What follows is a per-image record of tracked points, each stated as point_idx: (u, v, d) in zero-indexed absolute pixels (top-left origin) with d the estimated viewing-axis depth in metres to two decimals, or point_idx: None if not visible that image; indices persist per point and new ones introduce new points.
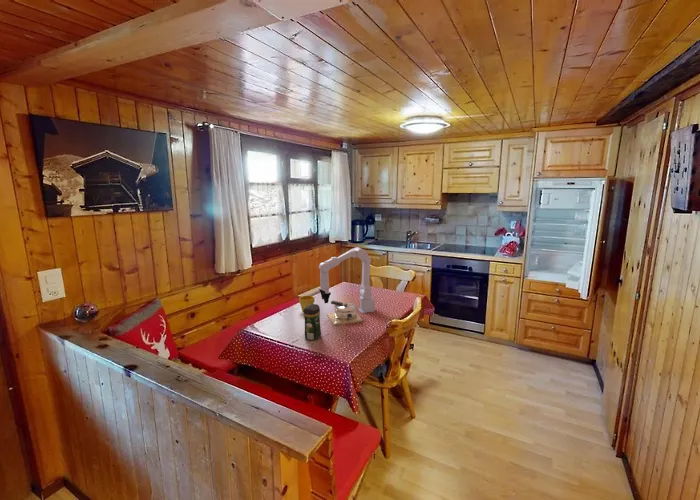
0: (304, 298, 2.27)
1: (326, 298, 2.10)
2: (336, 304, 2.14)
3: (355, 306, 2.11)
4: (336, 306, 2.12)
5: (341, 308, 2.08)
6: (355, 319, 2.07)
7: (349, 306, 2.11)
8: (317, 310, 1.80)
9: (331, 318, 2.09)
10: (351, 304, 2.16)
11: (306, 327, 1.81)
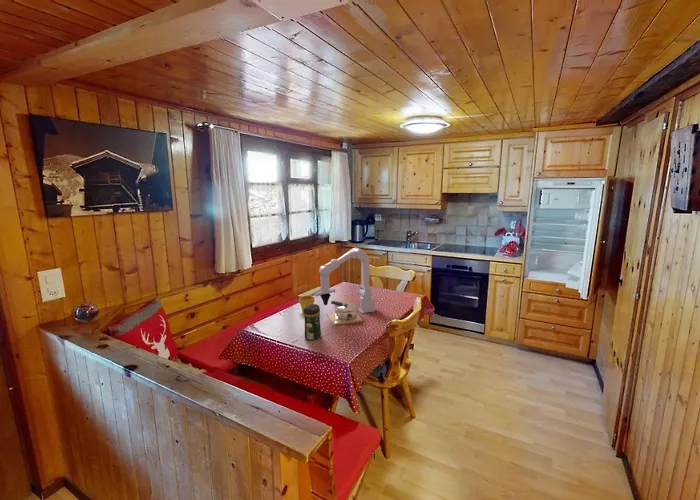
0: (304, 298, 2.27)
1: (324, 300, 2.11)
2: (336, 304, 2.14)
3: (355, 306, 2.11)
4: (336, 306, 2.12)
5: (341, 308, 2.08)
6: (355, 319, 2.07)
7: (349, 306, 2.11)
8: (317, 310, 1.80)
9: (331, 318, 2.09)
10: (351, 304, 2.16)
11: (306, 327, 1.81)
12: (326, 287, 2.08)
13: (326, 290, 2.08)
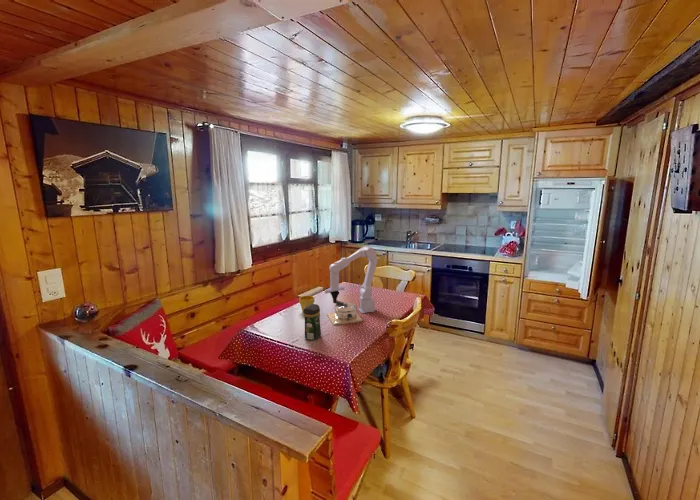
0: (304, 298, 2.27)
1: (334, 297, 2.16)
2: (337, 303, 2.16)
3: (355, 307, 2.10)
4: (336, 305, 2.13)
5: (340, 308, 2.09)
6: (355, 319, 2.07)
7: (349, 306, 2.11)
8: (317, 310, 1.80)
9: (331, 318, 2.09)
10: (352, 304, 2.15)
11: (306, 327, 1.81)
12: (336, 284, 2.12)
13: (336, 287, 2.12)
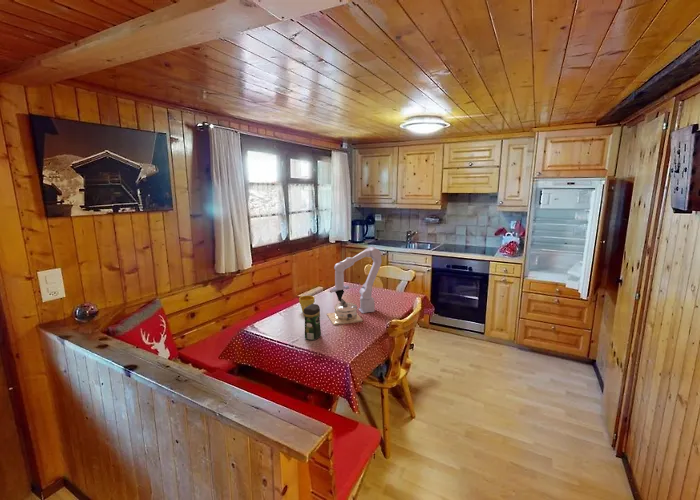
0: (304, 298, 2.27)
1: (339, 296, 2.18)
2: (341, 302, 2.18)
3: (352, 308, 2.07)
4: (338, 304, 2.15)
5: (338, 307, 2.10)
6: (355, 319, 2.07)
7: (348, 307, 2.10)
8: (317, 310, 1.80)
9: (331, 318, 2.09)
10: (353, 305, 2.13)
11: (306, 327, 1.81)
12: (341, 283, 2.14)
13: (341, 286, 2.15)
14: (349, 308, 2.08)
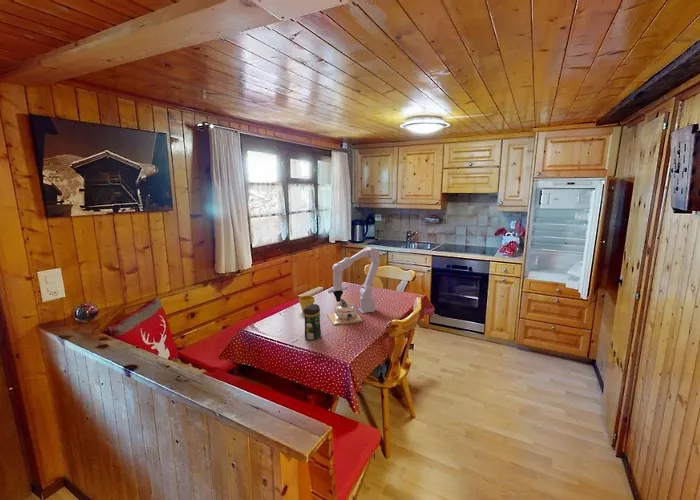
0: (304, 298, 2.27)
1: (337, 297, 2.17)
2: (341, 302, 2.18)
3: (352, 308, 2.07)
4: (338, 304, 2.15)
5: (338, 307, 2.10)
6: (355, 319, 2.07)
7: (348, 307, 2.10)
8: (317, 310, 1.80)
9: (331, 318, 2.09)
10: (353, 305, 2.13)
11: (306, 327, 1.81)
12: (339, 284, 2.14)
13: (339, 287, 2.14)
14: (349, 308, 2.08)
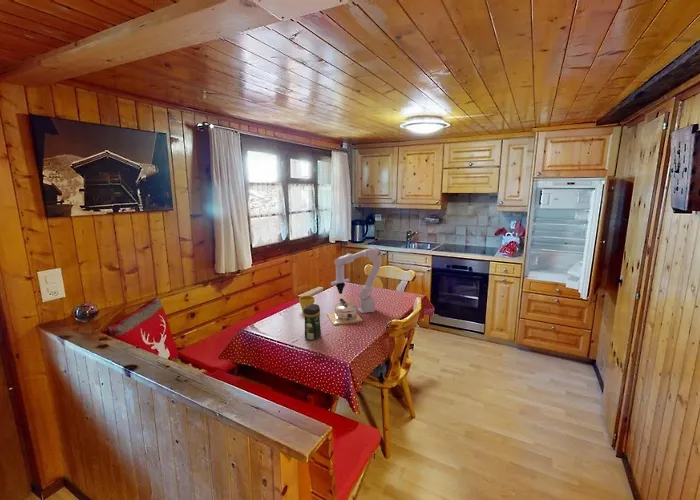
0: (304, 298, 2.27)
1: (339, 289, 2.28)
2: (341, 302, 2.18)
3: (352, 308, 2.07)
4: (338, 304, 2.15)
5: (338, 307, 2.10)
6: (355, 319, 2.07)
7: (348, 307, 2.10)
8: (317, 310, 1.80)
9: (331, 318, 2.09)
10: (353, 305, 2.13)
11: (306, 327, 1.81)
12: (341, 277, 2.24)
13: (341, 280, 2.24)
14: (349, 308, 2.08)
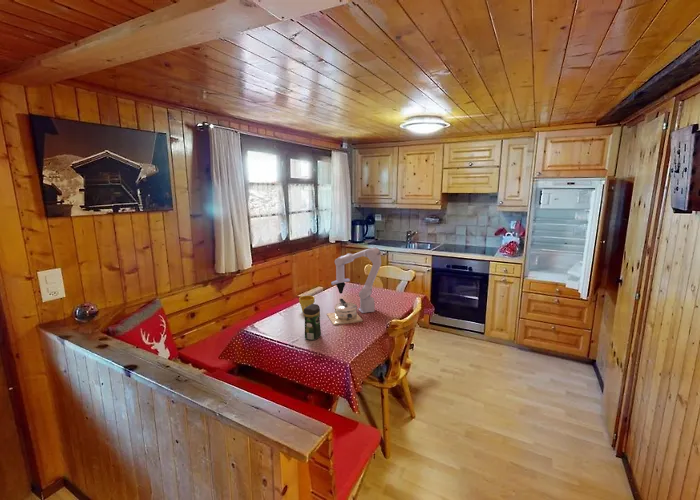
0: (304, 298, 2.27)
1: (339, 289, 2.29)
2: (341, 302, 2.18)
3: (352, 308, 2.07)
4: (338, 304, 2.15)
5: (338, 307, 2.10)
6: (355, 319, 2.07)
7: (348, 307, 2.10)
8: (317, 310, 1.80)
9: (331, 318, 2.09)
10: (353, 305, 2.13)
11: (306, 327, 1.81)
12: (341, 276, 2.25)
13: (341, 279, 2.25)
14: (349, 308, 2.08)
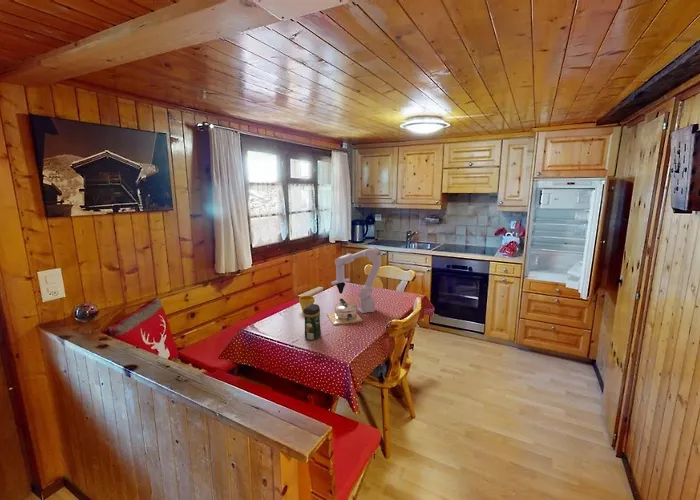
0: (304, 298, 2.27)
1: (339, 289, 2.29)
2: (341, 302, 2.18)
3: (352, 308, 2.07)
4: (338, 304, 2.15)
5: (338, 307, 2.10)
6: (355, 319, 2.07)
7: (348, 307, 2.10)
8: (317, 310, 1.80)
9: (331, 318, 2.09)
10: (353, 305, 2.13)
11: (306, 327, 1.81)
12: (341, 276, 2.25)
13: (341, 279, 2.25)
14: (349, 308, 2.08)
